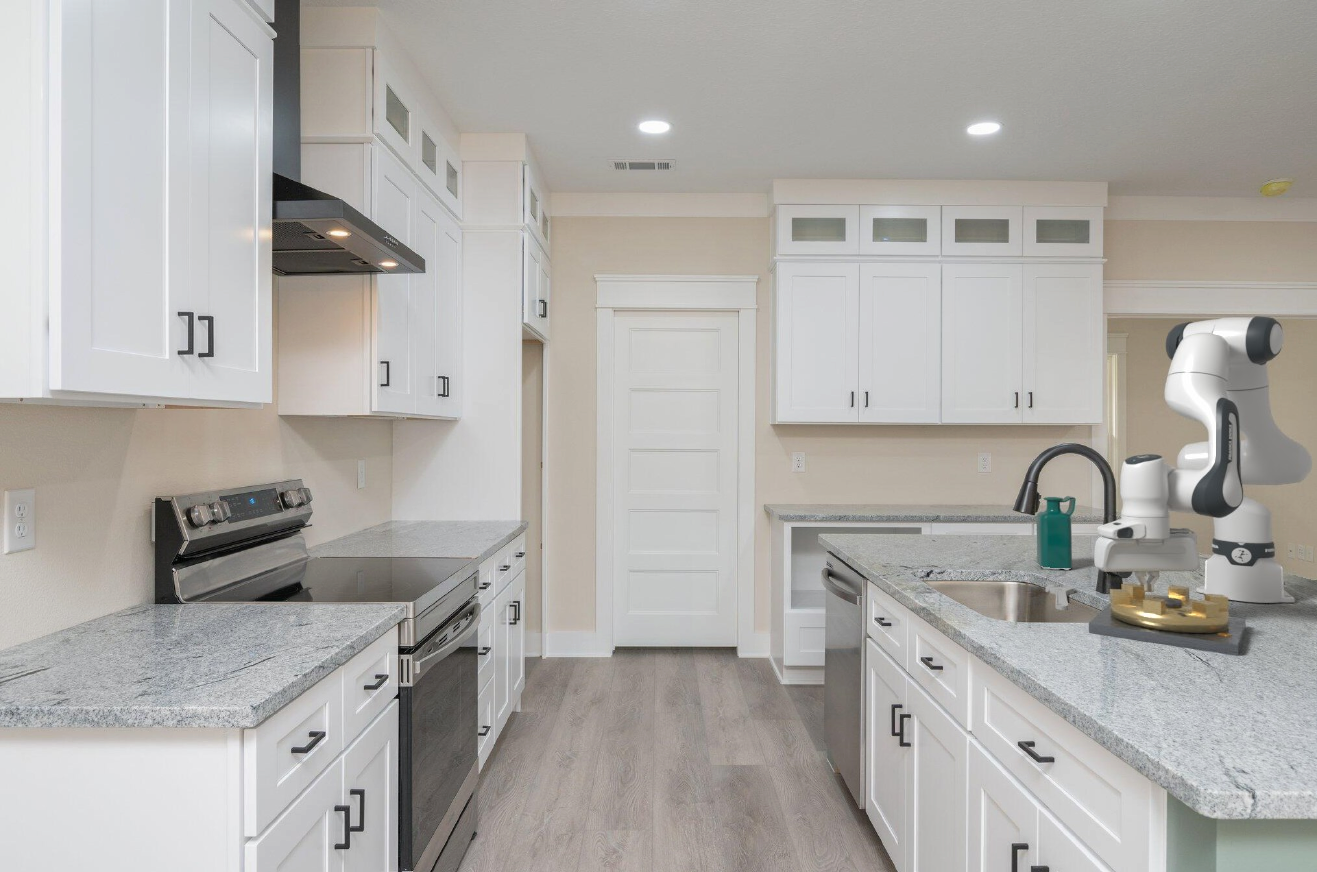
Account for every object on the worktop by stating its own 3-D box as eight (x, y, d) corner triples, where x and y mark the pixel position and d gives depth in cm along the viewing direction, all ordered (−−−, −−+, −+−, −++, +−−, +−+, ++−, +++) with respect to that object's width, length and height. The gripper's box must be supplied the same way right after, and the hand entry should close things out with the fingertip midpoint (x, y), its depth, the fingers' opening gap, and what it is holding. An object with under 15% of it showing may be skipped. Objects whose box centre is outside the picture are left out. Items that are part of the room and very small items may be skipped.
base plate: (1111, 610, 164) (1111, 601, 164) (1245, 628, 148) (1245, 617, 148) (1088, 632, 146) (1088, 622, 146) (1238, 655, 130) (1237, 643, 130)
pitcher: (1042, 569, 214) (1041, 497, 214) (1036, 564, 222) (1034, 495, 222) (1078, 571, 211) (1077, 497, 211) (1071, 566, 219) (1069, 495, 219)
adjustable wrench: (1068, 613, 165) (1068, 605, 165) (1037, 609, 168) (1037, 602, 168) (1075, 591, 185) (1075, 585, 185) (1047, 589, 189) (1047, 582, 189)
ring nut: (1100, 605, 160) (1099, 581, 160) (1206, 611, 153) (1205, 586, 153) (1125, 628, 141) (1124, 600, 141) (1247, 636, 134) (1246, 607, 134)
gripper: (1186, 526, 157) (1188, 587, 157) (1089, 527, 159) (1091, 588, 159) (1205, 529, 150) (1207, 594, 150) (1104, 531, 153) (1106, 594, 153)
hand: (1147, 591), depth 155 cm, fingers closed
